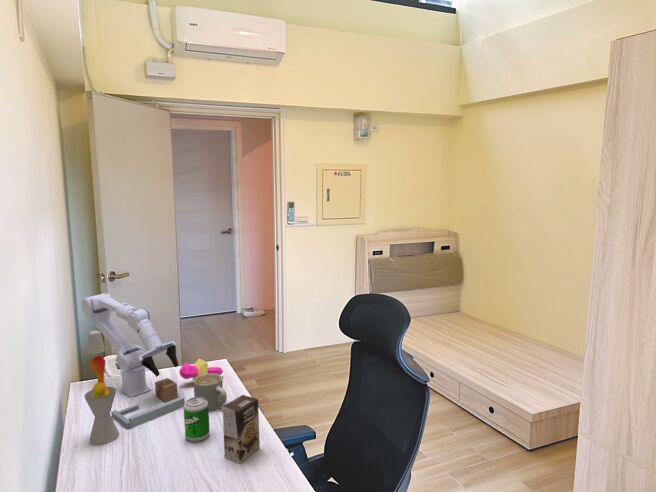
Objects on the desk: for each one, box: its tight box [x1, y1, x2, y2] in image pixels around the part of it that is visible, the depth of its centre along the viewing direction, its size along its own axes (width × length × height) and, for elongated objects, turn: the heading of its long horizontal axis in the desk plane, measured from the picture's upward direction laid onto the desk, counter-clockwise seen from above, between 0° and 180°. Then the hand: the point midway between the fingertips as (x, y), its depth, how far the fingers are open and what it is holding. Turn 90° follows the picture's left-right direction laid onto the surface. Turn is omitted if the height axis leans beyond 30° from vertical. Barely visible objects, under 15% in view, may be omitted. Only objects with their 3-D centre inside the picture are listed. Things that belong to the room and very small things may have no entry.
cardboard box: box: [154, 377, 179, 403], centre depth 177 cm, size 7×5×7 cm
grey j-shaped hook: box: [110, 396, 186, 430], centre depth 167 cm, size 12×21×3 cm, turn 137°
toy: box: [179, 358, 224, 382], centre depth 190 cm, size 10×18×10 cm, turn 130°
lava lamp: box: [83, 330, 120, 446], centre depth 148 cm, size 9×9×35 cm
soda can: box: [182, 397, 211, 443], centre depth 150 cm, size 8×8×12 cm
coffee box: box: [222, 394, 261, 464], centre depth 140 cm, size 9×6×16 cm
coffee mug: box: [193, 374, 227, 413], centre depth 169 cm, size 13×10×10 cm
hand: (167, 370), depth 172 cm, fingers open, 7 cm apart
